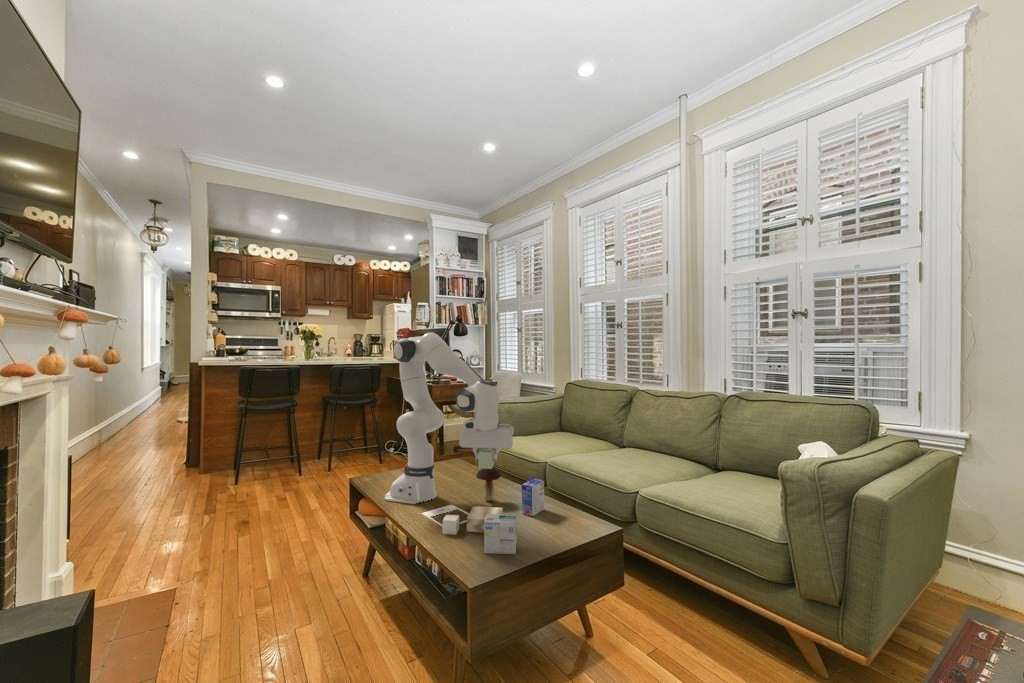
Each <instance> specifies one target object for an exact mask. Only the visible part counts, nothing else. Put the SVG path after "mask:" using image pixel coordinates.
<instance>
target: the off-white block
mask: <svg viewBox="0 0 1024 683" xmlns="http://www.w3.org/2000/svg"><path fill="white" fill-rule="evenodd" d="M459 522H460V515H458V514H445V516H444V517H443V519H442V525H443V527H442V535H443V534H444V535H457V533H459V530H460V525H459Z"/></svg>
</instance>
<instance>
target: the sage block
mask: <svg viewBox="0 0 1024 683" xmlns="http://www.w3.org/2000/svg"><path fill="white" fill-rule="evenodd" d="M494 453H495V450H494V449H492V448H479V451H478V454H479V457H478V460H477V461H478V462H477V463H478V464H477V465H478V469H492V467H493V468H494V462H495V460H492V459H493V458H492V456H493V455H495V454H494Z"/></svg>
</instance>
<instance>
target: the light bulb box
mask: <svg viewBox="0 0 1024 683" xmlns="http://www.w3.org/2000/svg"><path fill="white" fill-rule="evenodd" d="M517 530H518V529H517V514H516V513H515V514H511V513H510V514H507V513H506V514H504V513H503V514H486V517H485V521H484V532H483V533H484V534H483V541H484V543H483V549H484V550H483V553H484V554H498V555H499V554H501V555H502V554H503V555H505V554H506V555H516V553H517V535H518V534H517Z"/></svg>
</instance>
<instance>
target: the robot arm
mask: <svg viewBox="0 0 1024 683" xmlns="http://www.w3.org/2000/svg"><path fill="white" fill-rule="evenodd" d="M393 356H394V357H395V359H396V360H397V361H398V362H399V379H400V383H401V384H400V385H401V389H402V395H403V398H404V400H405V401H406V402H408V403H409V404H410V405H411V407H412V408H413V409H412V411H408V412H405V413H404V414H401V415H399V417H398V418H397V420H396V429H397V432H398V434H399V435H401V437H402V438H404V440H405V443H406V446H407V456H408V457H407V463H406V464H405V465H404V467H403V468H402V469H403V470H402V471H403V474H401V475H400V476H399V477H397V478H396V479H395V480H394V481H393V482H392V483H391V486H390V491H388V492H387V493H386V494H385V495H384V500H385V501H387V502H393V503H394V502H396V503H402V504H403V503H404V504H411V505H417V504H419V502H420V503H423V501H424V502H428V500H429V501H431V499H432V500H434V499H435V498H436V497H437V496H438V495H437V491H436V487H435V486H436V485H435V464H434V446H433V444H431V442H430V443H429V441H428V437H427V434H428V433H432V432H435V431H436V430H438V429H440V428H441V427H442V426H443V425H444V422H445V415H444V413H443V411H442V410H441V409H440V408H438V407H437V406H436V405H435V403H434V401H433V399H432V397H431V395H430V392H429V388H428V383H427V378H426V374H425V370H424V368H425V367H424V365H425V363H426V362H427V364H428V365H429V366H430V368H431V369H432V370H434V372H436V374H437V373H438V374H440V375H445V376H452V377H455V378H459V379H460V380H462V381H463V382H464V383H465V385H467V386H466V387H463V388H460V389H459V390H458V392H457V393H456V397H455V404H456V406H457V408H458V409H459V410H460V411H461V412H463V413H472V412H473V413H474V417H473V418H469V419H467V420H465V421H463V423H462V428H463V429H462V430H461V431H460V434H459V442H458V444H459V446H460V447H461V448H465V449H467V448H468V449H469V448H470V449H472V452H473V453H474V456H475V460H477V461H478V457H479V452H478V451H477V450H478V449H495V450H494V452H496V453H495V454H494V455H493V456H492V458H493V459H492V460H494V461H497V460H498V454H499V452H500V451H501V450H512V448H513V447H514V438H513V435H514V434H515V428H514V426H513V425H512V424H510V423H500V422H499V413H498V406H499V399H500V398H499V397H500V396H499V389H498V384H497V382H495V381H493V380H491V379H490V380H489V379H484V378H482V377H481V376H480V375H479V373H477V372H476V371H475V369H474V368H473V367H472V366H471V365H469V363H467V362H466V361H465V360H464V359H462V358H461V357H459V355H458V354H456V353H455V352H454V351H453V350H452V349H451V347H450V346H449V345H448V344H447V343H446V341H445V340H444V339H443V338H442V337H441V336H440V335H438V334H437V333H435V332H427V333H425V334H424V335H420V336H419V335H418V336H413V337H408V338H407V337H403V338H400V339H398V340H396V341H395V343H394V344H393ZM416 503H417V504H416Z"/></svg>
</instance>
